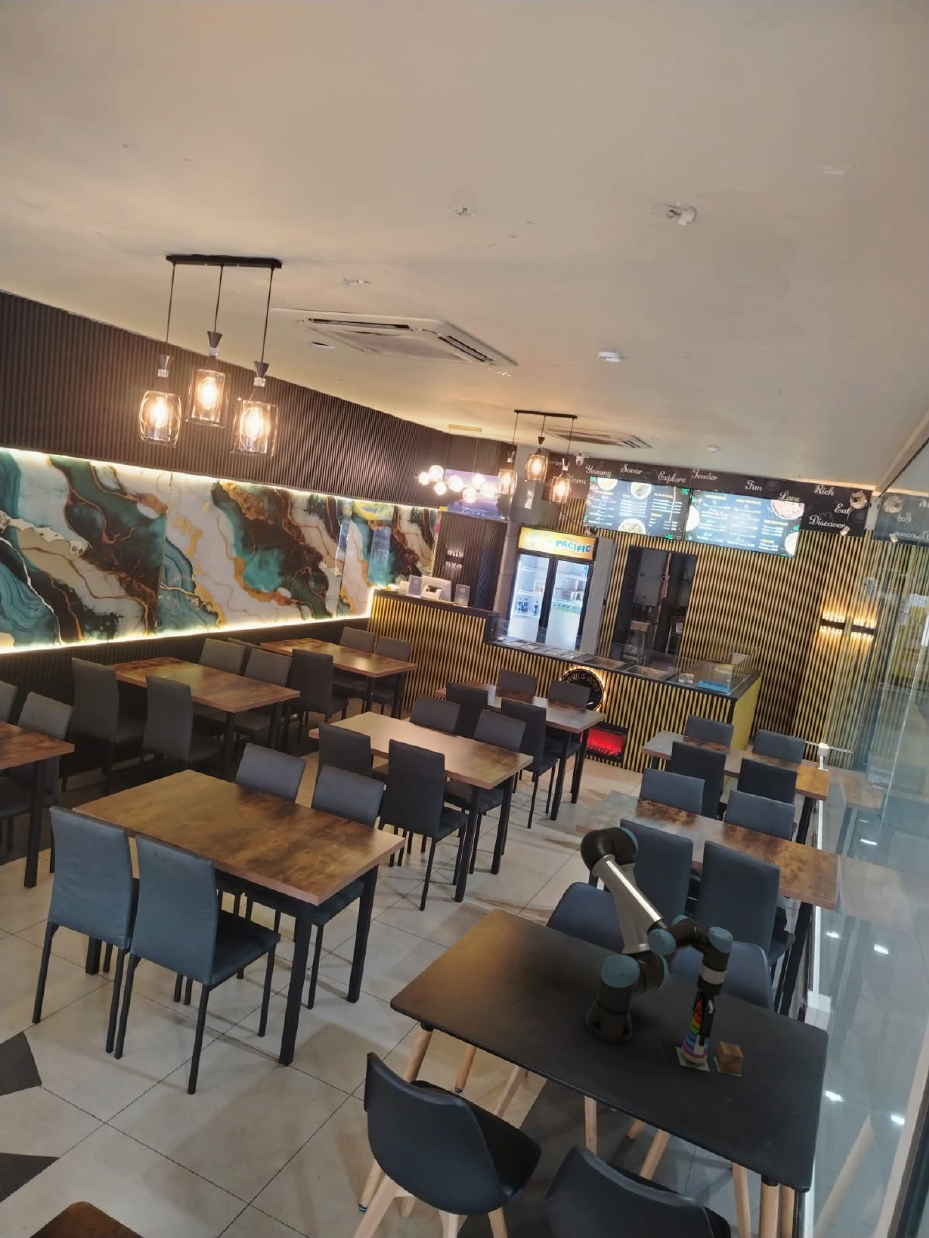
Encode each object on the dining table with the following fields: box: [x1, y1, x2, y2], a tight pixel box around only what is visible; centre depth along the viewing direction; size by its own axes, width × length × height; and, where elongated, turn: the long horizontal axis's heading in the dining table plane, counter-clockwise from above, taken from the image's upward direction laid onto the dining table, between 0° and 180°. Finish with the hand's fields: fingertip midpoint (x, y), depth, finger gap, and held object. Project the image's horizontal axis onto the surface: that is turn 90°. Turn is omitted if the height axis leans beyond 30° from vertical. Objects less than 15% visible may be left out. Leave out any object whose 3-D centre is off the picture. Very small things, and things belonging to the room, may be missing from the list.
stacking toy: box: [680, 1000, 710, 1063], centre depth 251 cm, size 8×8×19 cm
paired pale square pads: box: [675, 1046, 742, 1078], centre depth 252 cm, size 24×16×1 cm, turn 85°
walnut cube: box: [715, 1040, 744, 1075], centre depth 251 cm, size 6×6×6 cm
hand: (695, 1045), depth 252 cm, fingers closed on stacking toy, 7 cm apart
